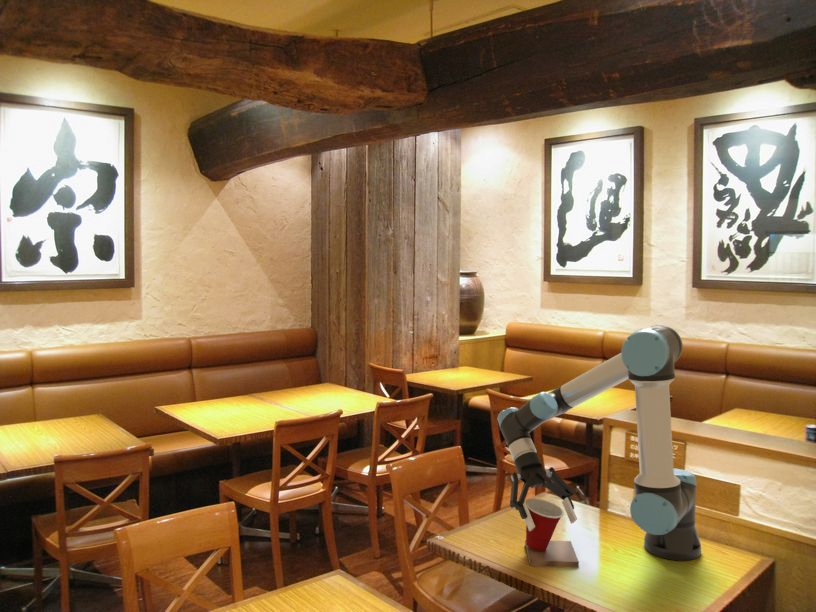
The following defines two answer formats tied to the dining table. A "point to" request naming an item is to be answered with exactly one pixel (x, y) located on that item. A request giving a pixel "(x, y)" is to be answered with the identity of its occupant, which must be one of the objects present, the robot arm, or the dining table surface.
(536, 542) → the plastic cup
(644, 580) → the dining table surface
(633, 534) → the dining table surface
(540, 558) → the walnut coaster board
